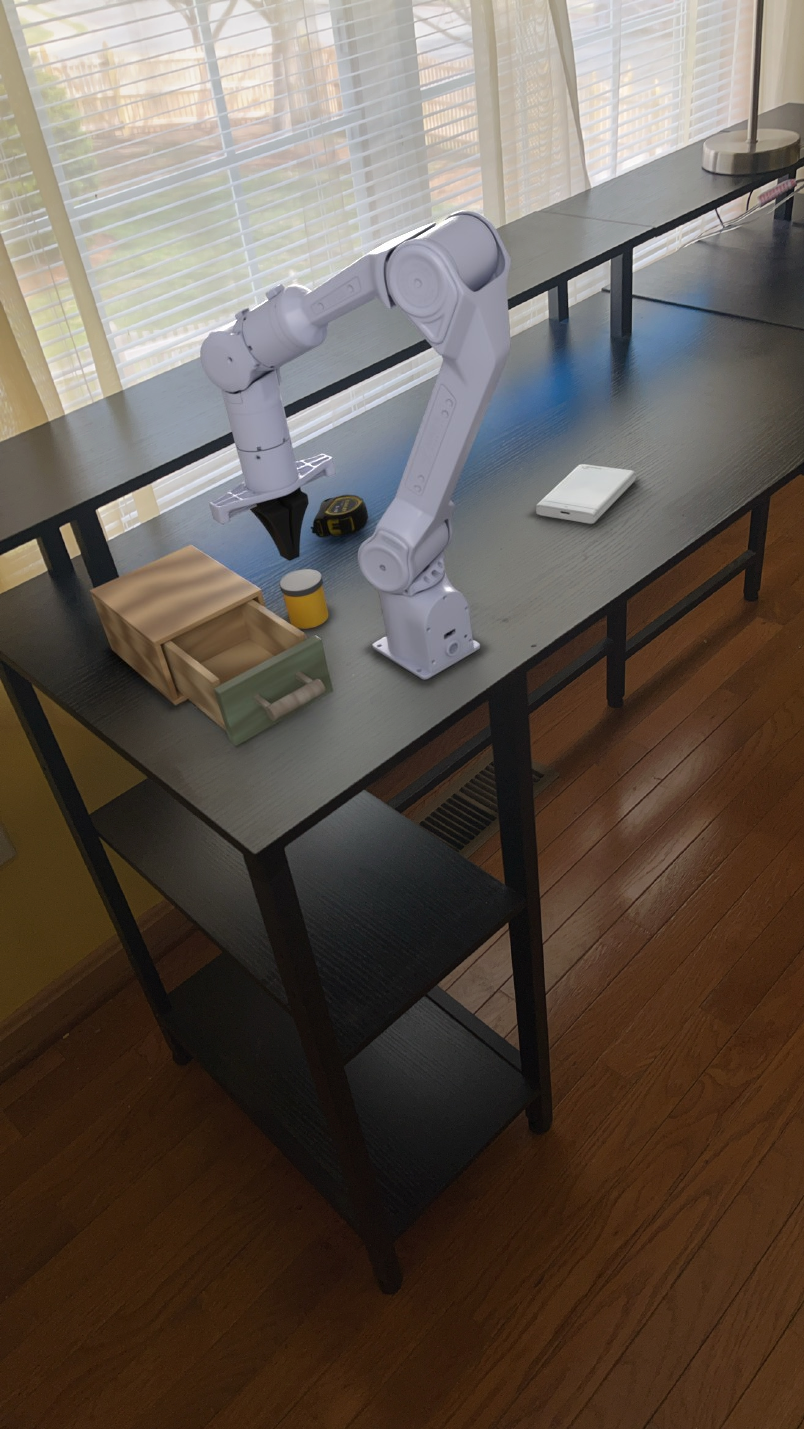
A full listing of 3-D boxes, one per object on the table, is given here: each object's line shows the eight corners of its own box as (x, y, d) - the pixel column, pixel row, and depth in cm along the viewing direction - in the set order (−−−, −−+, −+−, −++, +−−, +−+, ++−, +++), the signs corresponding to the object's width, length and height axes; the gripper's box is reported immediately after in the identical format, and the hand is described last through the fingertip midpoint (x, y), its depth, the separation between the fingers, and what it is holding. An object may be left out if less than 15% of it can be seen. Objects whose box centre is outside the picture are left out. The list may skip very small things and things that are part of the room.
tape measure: (326, 518, 141) (320, 493, 139) (374, 516, 139) (370, 491, 137) (314, 543, 136) (308, 517, 133) (364, 541, 134) (359, 515, 132)
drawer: (357, 708, 104) (345, 654, 100) (257, 765, 99) (241, 711, 95) (257, 638, 118) (244, 588, 114) (165, 686, 112) (147, 635, 108)
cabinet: (277, 651, 116) (261, 589, 111) (175, 705, 111) (153, 642, 106) (208, 603, 127) (190, 544, 122) (111, 650, 122) (89, 590, 117)
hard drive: (578, 463, 140) (535, 503, 132) (635, 470, 136) (594, 512, 128) (579, 474, 141) (536, 515, 133) (635, 482, 137) (594, 524, 129)
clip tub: (303, 634, 118) (294, 595, 115) (280, 619, 122) (271, 581, 118) (338, 616, 120) (329, 578, 117) (314, 602, 124) (306, 564, 120)
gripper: (300, 408, 112) (323, 520, 121) (183, 456, 106) (216, 570, 115) (336, 423, 108) (358, 538, 116) (216, 473, 102) (248, 591, 110)
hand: (290, 556), depth 115 cm, fingers closed
